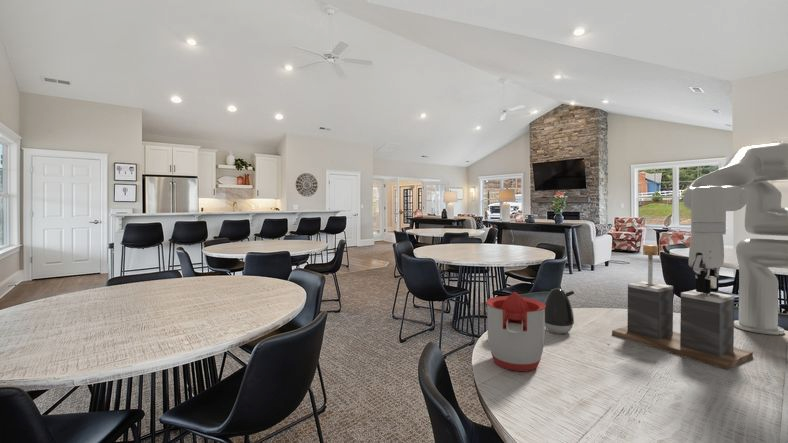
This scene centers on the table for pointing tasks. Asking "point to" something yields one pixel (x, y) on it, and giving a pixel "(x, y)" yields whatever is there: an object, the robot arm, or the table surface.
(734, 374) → the table surface
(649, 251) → the copper plunger
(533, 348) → the citrus juicer
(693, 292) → the press station
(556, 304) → the pump dispenser
